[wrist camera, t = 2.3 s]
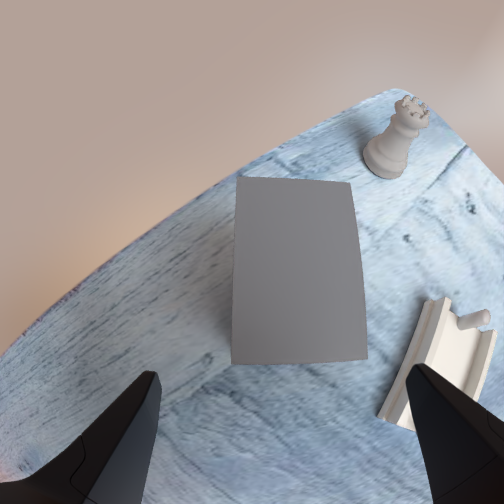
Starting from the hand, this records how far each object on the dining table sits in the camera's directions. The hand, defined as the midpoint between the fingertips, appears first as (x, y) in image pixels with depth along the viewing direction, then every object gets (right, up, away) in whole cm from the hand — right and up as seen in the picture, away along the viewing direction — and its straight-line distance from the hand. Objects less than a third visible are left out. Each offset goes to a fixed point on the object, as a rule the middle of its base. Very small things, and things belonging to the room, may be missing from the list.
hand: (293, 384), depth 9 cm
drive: (0, 0, +11) cm, 11 cm away
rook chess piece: (+11, +13, +17) cm, 24 cm away
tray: (+14, -6, +10) cm, 18 cm away
